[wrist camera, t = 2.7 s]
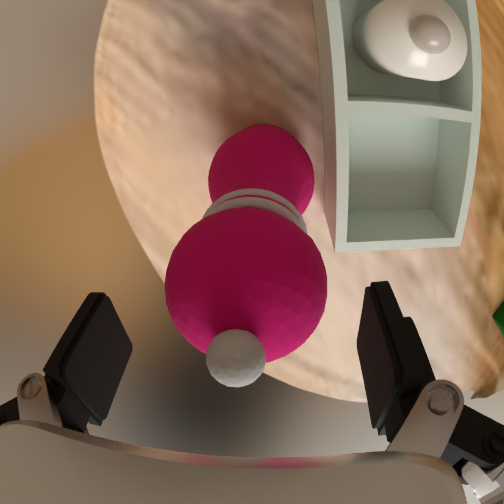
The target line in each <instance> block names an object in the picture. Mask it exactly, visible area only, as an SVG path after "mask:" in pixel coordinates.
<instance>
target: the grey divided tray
mask: <svg viewBox="0 0 504 504" xmlns="http://www.w3.org/2000/svg"><path fill="white" fill-rule="evenodd" d="M382 1H384V0H312V4H313V12H314V20H315V29H316V38H317V48H318V59H319V70H320V83H321V98H322V115H323V136H324V167H325V217H326V220H327V224H328V228H329V231H330V235H331V239H332V243H333V247H334V251H335V252H355V251H376V250H395V249H415V248H434V247H453V246H460V244H461V240H462V236H463V232H464V228H465V223H466V219H467V214H468V209H469V204H470V199H471V194H472V188H473V182H474V175H475V168H476V161H477V153H478V143H479V132H480V118H481V89H482V77H481V49H480V35H479V25H478V16H477V9H476V2H475V0H443V1H444V2H446V3H447V4H448V5H449V6H450V7H451V8H452V9H453V10H454V12H455V13H456V14H457V16H458V17H459V19H460V21H461V23H462V25H463V27H464V30H465V33H466V37H467V55H466V59H465V62H464V64H463V66H462V67H461V69H460V70H459V71H458V72H457V73H456V74H455V75H454V76H452V77H450V78H448V79H446V80H441V81H429V80H423V79H417V78H410V77H403V76H395V75H387V74H383V73H379V72H377V71H375V70H373V69H371V68H370V67H369V66H367V65H366V64H365V63H364V62H363V61H362V60H361V59H360V57H359V56H358V54H357V53H356V51H355V48H354V46H353V42H352V28H353V25H354V22H355V21H356V19H357V18H358V17H359V15H361V14H362V13H363V12H365V11H366V10H368V9H370V8H372V7H373V6H375V5H377V4H379V3H380V2H382Z"/></svg>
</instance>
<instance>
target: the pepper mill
mask: <svg viewBox="0 0 504 504" xmlns="http://www.w3.org/2000/svg"><path fill="white" fill-rule="evenodd" d="M208 183H209V192H210V197H211V200H212V203H213V204H212V205H211V206H210V207H209V208H208V209H207V211H206V213H205V214H204V216H203V218H202V220H200V221H199V222H197V223H196V224H194V225H193V226H192V227H191V228H190V229H189V230H188V231H187V232H186V233H185V234H184V235H183V237H182V238H181V240H180V241H179V243H178V244H177V246H176V247H175V249H174V250H173V252H172V255H171V258H170V261H169V264H168V267H167V270H166V278H165V294H166V304H167V307H168V310H169V313H170V316H171V318H172V321H173V322H174V324H175V326H176V327H177V329H178V330H179V332H180V333H181V334H182V335H183V336H184V337H185V339H186V340H187V341H188V342H189V343H190V344H192V345H193V346H194V347H196V348H197V349H198V350H200V351H201V352H203V353H205V354H206V363H207V366H208V368H209V371H210V373H211V375H212V376H213V377H214V378H215V379H216V380H217V381H219V382H220V383H222V384H224V385H226V386H231V387H242V386H245V385H249V384H251V383H252V382H254V381H255V380H256V379H257V378H258V377H259V376H260V375H261V373H262V372H263V370H264V367H265V363H266V362H271V361H273V360H276V359H279V358H281V357H284V356H286V355H288V354H289V353H291V352H292V351H294V350H296V349H297V348H298V347H300V346H301V345H302V344H303V343H304V342H305V341H306V340H307V339H308V338H309V337H310V335H311V334H312V333H313V332H314V330H315V329H316V327H317V326H318V323H319V321H320V319H321V317H322V315H323V313H324V309H325V304H326V298H327V275H326V269H325V266H324V263H323V260H322V257H321V254H320V252H319V250H318V248H317V247H316V245H315V243H314V242H313V240H312V238H311V237H310V236H309V235H307V229H306V224H305V222H304V220H303V218H302V216H301V215H302V214H303V213H304V211H305V210H306V208H307V206H308V204H309V202H310V200H311V198H312V194H313V191H314V171H313V166H312V162H311V160H310V158H309V155H308V154H307V152H306V151H305V149H304V148H303V147H302V145H301V144H300V143H299V142H298V141H297V140H295V139H294V138H293V136H291V135H290V134H289V133H288V132H287V131H285V130H283V129H281V128H279V127H276V126H273V125H266V124H261V125H254V126H251V127H248V128H246V129H244V130H242V131H241V132H239V133H236V134H234V135H233V136H231V137H230V138H228V139H227V140H226V141H225V142H224V143H223V144H222V145H221V146H220V148H219V149H218V150H217V152H216V154H215V156H214V158H213V161H212V164H211V167H210V170H209V176H208Z"/></svg>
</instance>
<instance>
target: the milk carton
mask: <svg viewBox="0 0 504 504" xmlns="http://www.w3.org/2000/svg"><path fill="white" fill-rule="evenodd" d="M493 319H494V320H495V322H496V324H497V326H498V328H499V329H500V331H501V333H502V335H503V337H504V302H503V303H502V305H501V306H500V307H499V309H498V310H497V311H496V313H495V314H494V315H493Z"/></svg>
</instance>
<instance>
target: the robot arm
mask: <svg viewBox="0 0 504 504" xmlns="http://www.w3.org/2000/svg"><path fill="white" fill-rule="evenodd" d="M357 351H358V355H359V360H360V365H361V370H362V375H363V380H364V385H365V390H366V395H367V401H368V407H369V412H370V418H371V424H372V427H373V428H377V430H378V435H379V436H380V435H385V434H386V436H387V441H388V442H390V444H389V446H388V447H387V449H386V451H381V452H367V453H353V454H342V455H332V456H331V455H330V456H316V457H315V456H314V457H289V458H248V457H227V456H226V457H225V456H211V455H201V454H191V453H183V452H175V451H168V450H161V449H155V448H149V447H143V446H137V445H132V444H127V443H122V442H118V441H113V440H109V439H105V438H101V437H96V436H93V435H90V434H89V432H88V429H87V426H86V425H87V423H88V422H89V423H90V424H94V425H98V426H101V424H102V421H103V420H104V419H106V417H107V415H108V412H109V409H110V406H111V404H112V401H113V399H114V396H115V393H116V391H117V388H118V386H119V383H120V380H121V378H122V375H123V373H124V370H125V368H126V365H127V362H128V360H129V358H130V355H131V353H132V343H131V341H130V339H129V337H128V335H127V333H126V331H125V329H124V327H123V325H122V323H121V321H120V319H119V317H118V315H117V313H116V311H115V308H114V306H113V304H112V302H111V300H110V298H109V297H108V296H106V294H105V293H102V292H97V293H96V292H92V293H89V295H88V296H87V297H86V299H85V300H84V302H83V303H82V305H81V307H80V308H79V310H78V311H77V313H76V314H75V316H74V318H73V319H72V321H71V322H70V324H69V326H68V327H67V329H66V331H65V332H64V334H63V335H62V337H61V339H60V341H59V342H58V344H57V346H56V348H55V349H54V351H53V353H52V354H51V356H50V358H49V360H48V362H47V363H46V365H45V367H44V369H43V371H44V372H45V376H44V377H43V376H42V375H41V374H39V373H32V374H29V375H27V376H26V377H25V378H24V379H23V380H22V381H21V382H20V384H19V386H18V389H17V397H15V398H14V399H12V400H10V401H8V402H6V403H5V404H3V405H1V406H0V504H467V501H466V497H465V493H464V490H463V486H462V484H465V485H470V486H471V487H472V488H473V489H474V490H475V491H476V492H475V493H474V494H475V495H476V496H477V498H478V499H479V501H480V502H481V504H504V425H502V424H500V423H498V422H496V421H494V420H492V419H491V418H489V417H487V416H484V415H483V414H481V413H479V412H477V411H475V410H473V409H471V408H470V407H467V406H466V405H464V397H463V394H462V392H461V390H460V389H459V387H458V386H457V385H456V384H454V383H452V382H451V381H447V380H436V379H435V376H434V373H433V371H432V368H431V365H430V362H429V360H428V357H427V354H426V352H425V349H424V346H423V344H422V341H421V339H420V336H419V334H418V331H417V329H416V326H415V324H414V322H413V320H412V318H411V317H403V315H402V312H401V310H400V308H399V305H398V303H397V300H396V298H395V296H394V293H393V291H392V289H391V286H390V284H389V282H388V281H381V282H372V283H371V285H370V287H366V288H365V294H364V301H363V308H362V314H361V320H360V326H359V331H358V337H357ZM461 483H462V484H461Z"/></svg>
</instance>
